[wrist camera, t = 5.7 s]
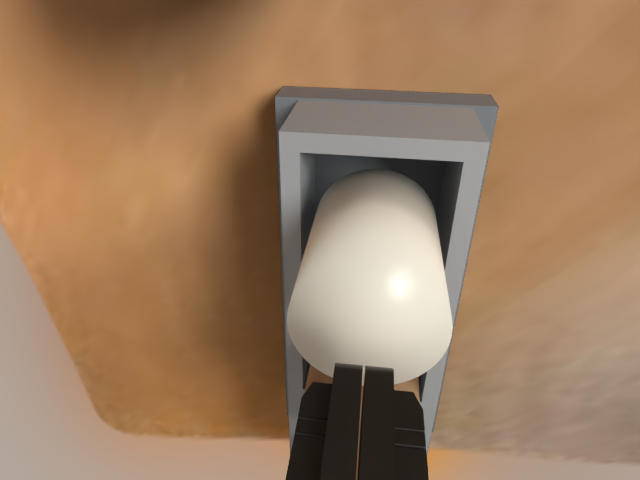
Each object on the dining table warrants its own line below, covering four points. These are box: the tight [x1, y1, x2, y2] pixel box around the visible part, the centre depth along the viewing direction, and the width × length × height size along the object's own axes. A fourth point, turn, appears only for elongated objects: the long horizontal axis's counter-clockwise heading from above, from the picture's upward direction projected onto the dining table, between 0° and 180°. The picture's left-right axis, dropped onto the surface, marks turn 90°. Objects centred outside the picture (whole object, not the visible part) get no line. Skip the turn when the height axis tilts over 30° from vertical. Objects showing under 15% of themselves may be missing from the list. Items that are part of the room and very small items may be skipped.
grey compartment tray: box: [275, 86, 499, 455], centre depth 26 cm, size 10×22×6 cm, turn 179°
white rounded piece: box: [287, 169, 453, 386], centre depth 17 cm, size 5×5×6 cm
